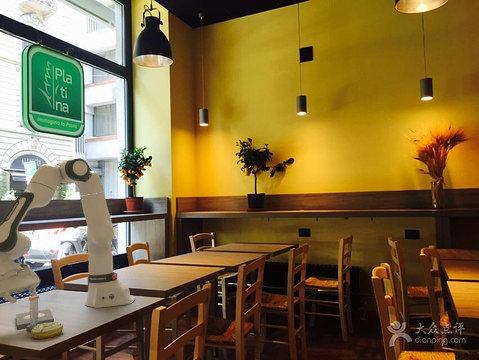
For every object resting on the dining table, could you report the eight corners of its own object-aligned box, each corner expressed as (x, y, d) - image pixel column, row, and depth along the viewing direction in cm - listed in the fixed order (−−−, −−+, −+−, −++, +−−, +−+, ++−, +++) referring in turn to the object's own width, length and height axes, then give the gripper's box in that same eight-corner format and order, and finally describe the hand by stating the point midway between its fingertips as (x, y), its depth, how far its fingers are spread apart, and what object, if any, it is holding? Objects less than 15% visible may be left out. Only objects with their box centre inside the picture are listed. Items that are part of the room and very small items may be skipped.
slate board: (15, 317, 165) (15, 314, 165) (49, 312, 172) (49, 308, 172) (17, 329, 150) (17, 324, 150) (54, 322, 157) (54, 318, 157)
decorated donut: (55, 328, 150) (55, 318, 150) (68, 333, 143) (68, 323, 143) (26, 336, 142) (26, 325, 142) (39, 342, 135) (38, 331, 135)
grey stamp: (26, 330, 148) (26, 297, 148) (34, 327, 151) (33, 295, 152) (34, 331, 146) (33, 298, 147) (41, 328, 150) (41, 295, 150)
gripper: (-15, 272, 144) (5, 300, 140) (32, 263, 163) (49, 288, 159) (-23, 284, 145) (-4, 312, 141) (24, 273, 164) (41, 298, 161)
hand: (25, 299), depth 151 cm, fingers open, 8 cm apart
